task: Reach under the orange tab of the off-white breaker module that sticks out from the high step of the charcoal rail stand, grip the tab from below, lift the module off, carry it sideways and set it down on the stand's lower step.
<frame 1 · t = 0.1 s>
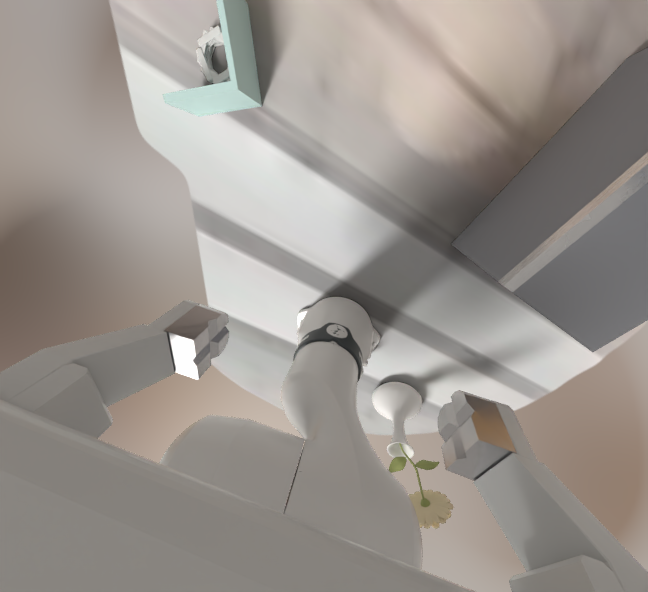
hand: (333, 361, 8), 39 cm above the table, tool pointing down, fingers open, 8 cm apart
rail stand: (554, 191, 36), on the table
flower in vase: (399, 395, 58), on the table
mint green angled piece: (221, 66, 38), on the table
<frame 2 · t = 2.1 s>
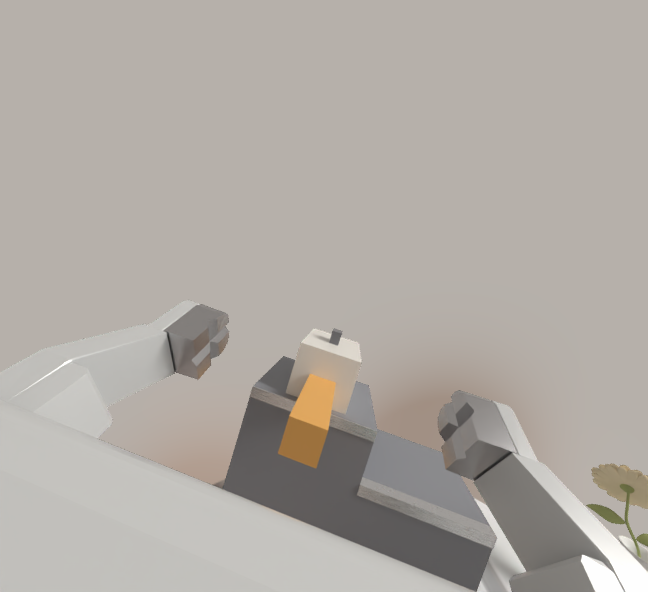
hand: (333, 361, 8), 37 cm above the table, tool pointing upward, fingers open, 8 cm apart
rail stand: (313, 584, 32), on the table
breaker module: (320, 385, 31), point 26 cm above the table, touching rail stand
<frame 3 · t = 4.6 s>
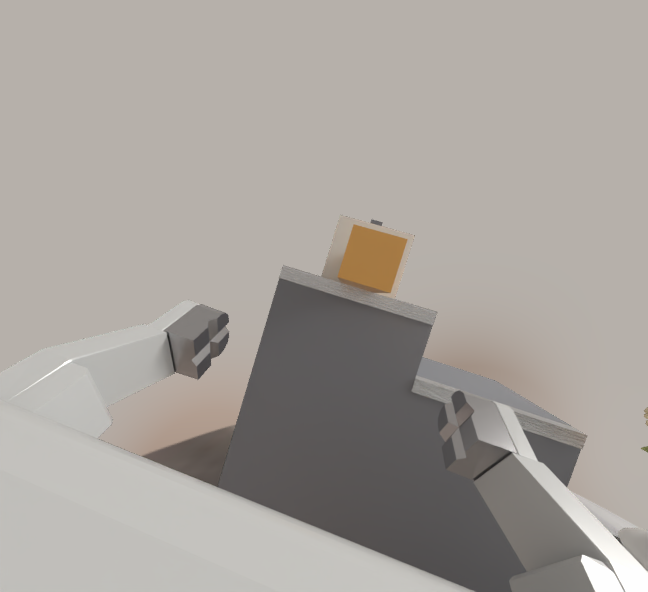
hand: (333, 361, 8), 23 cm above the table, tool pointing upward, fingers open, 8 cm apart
rail stand: (346, 523, 27), on the table
breaker module: (355, 288, 27), point 26 cm above the table, touching rail stand
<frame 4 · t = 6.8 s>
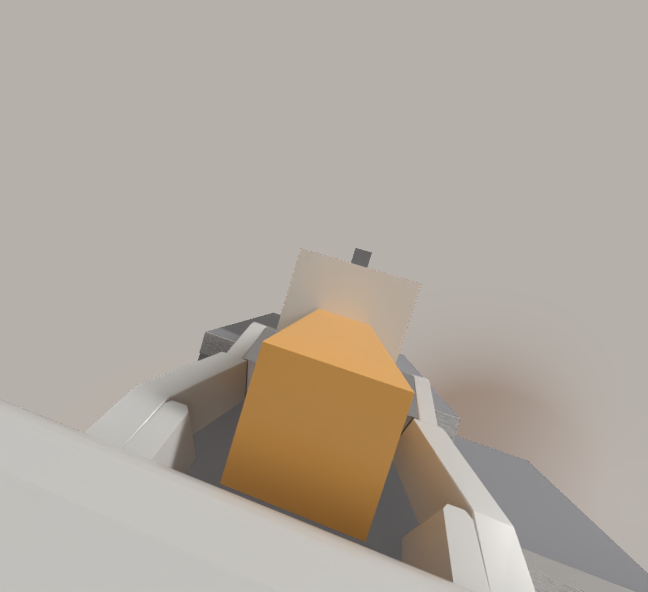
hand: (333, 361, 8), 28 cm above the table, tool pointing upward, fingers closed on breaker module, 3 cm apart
breaker module: (333, 346, 19), point 26 cm above the table, touching gripper, rail stand
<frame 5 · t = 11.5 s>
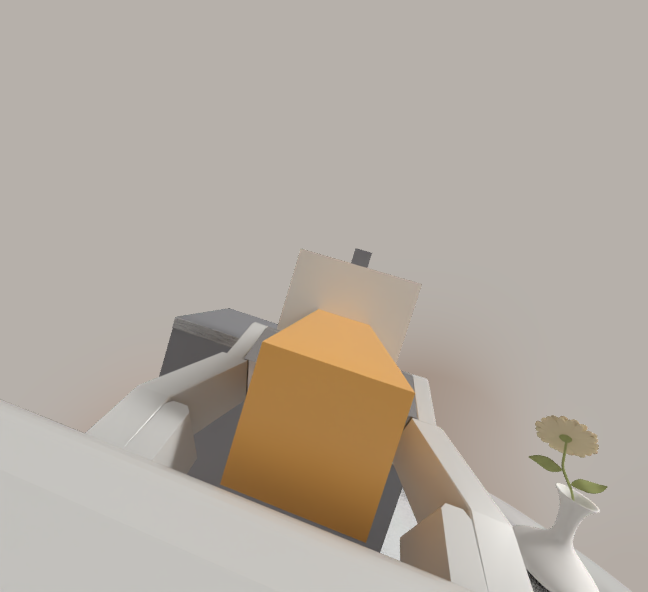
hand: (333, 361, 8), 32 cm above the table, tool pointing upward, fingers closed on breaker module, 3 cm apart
rail stand: (250, 527, 32), on the table
flower in vase: (540, 569, 40), on the table
breaker module: (333, 347, 19), point 30 cm above the table, touching gripper
when the fingers open (23 cm above the table, at t = 15.9 s): breaker module drops 1 cm, resting on rail stand.
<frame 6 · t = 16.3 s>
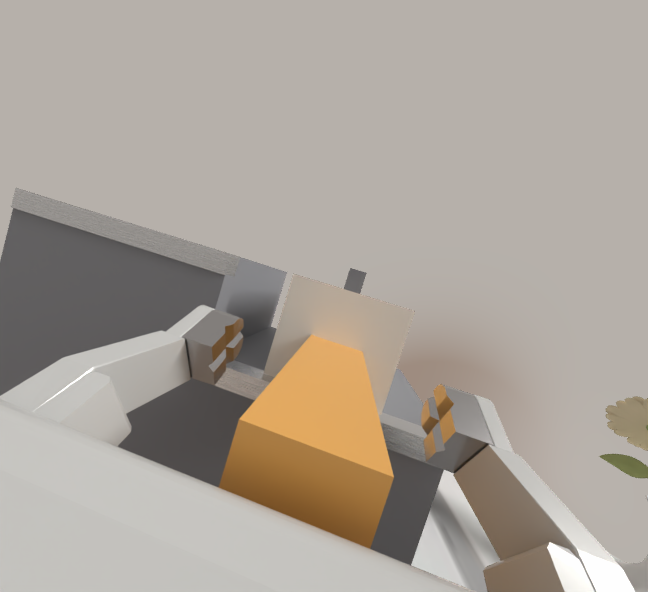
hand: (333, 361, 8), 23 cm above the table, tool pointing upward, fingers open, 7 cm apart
rail stand: (180, 561, 20), on the table
breaker module: (328, 366, 18), point 20 cm above the table, touching rail stand
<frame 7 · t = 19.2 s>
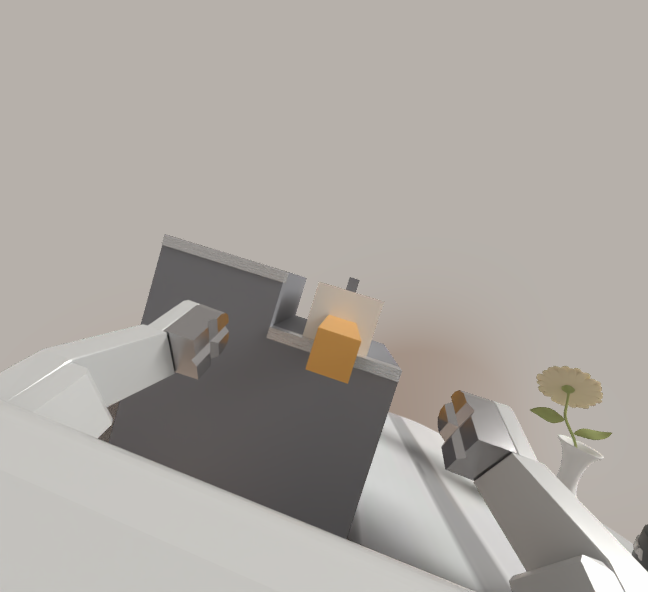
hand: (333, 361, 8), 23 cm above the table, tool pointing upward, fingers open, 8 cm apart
rail stand: (241, 463, 32), on the table
flower in vase: (542, 522, 38), on the table
breaker module: (336, 337, 30), point 20 cm above the table, touching rail stand
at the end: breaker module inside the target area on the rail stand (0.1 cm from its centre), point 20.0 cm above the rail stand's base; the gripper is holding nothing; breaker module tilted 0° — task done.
